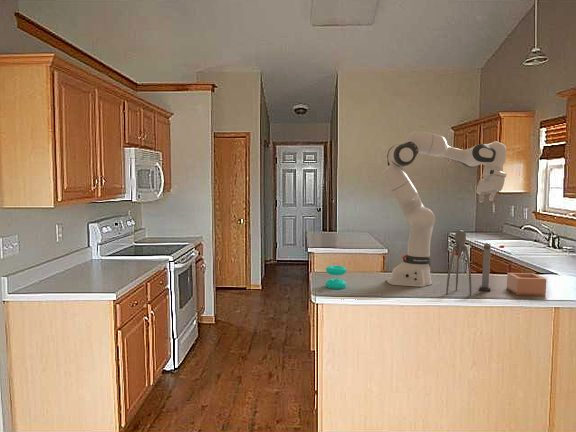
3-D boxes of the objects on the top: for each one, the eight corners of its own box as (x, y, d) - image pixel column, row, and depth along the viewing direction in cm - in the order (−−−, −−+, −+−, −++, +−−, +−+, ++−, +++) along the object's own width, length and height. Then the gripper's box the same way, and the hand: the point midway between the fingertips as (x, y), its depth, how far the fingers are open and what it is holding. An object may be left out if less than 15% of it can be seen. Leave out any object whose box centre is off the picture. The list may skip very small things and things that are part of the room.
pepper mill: (479, 290, 252) (481, 243, 250) (479, 288, 257) (482, 242, 254) (490, 291, 250) (492, 244, 248) (490, 289, 255) (493, 242, 253)
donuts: (342, 264, 260) (349, 268, 251) (341, 284, 261) (349, 289, 252) (323, 265, 258) (330, 269, 248) (322, 285, 258) (329, 290, 249)
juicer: (471, 295, 241) (474, 231, 238) (446, 294, 244) (448, 230, 241) (468, 291, 251) (471, 228, 248) (444, 289, 253) (446, 227, 250)
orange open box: (516, 295, 243) (517, 278, 243) (506, 288, 256) (507, 272, 256) (545, 296, 243) (546, 279, 242) (533, 289, 256) (534, 273, 255)
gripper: (476, 175, 272) (470, 201, 270) (496, 170, 251) (490, 197, 250) (487, 178, 272) (481, 204, 271) (508, 173, 252) (502, 201, 251)
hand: (485, 201), depth 260 cm, fingers open, 8 cm apart
